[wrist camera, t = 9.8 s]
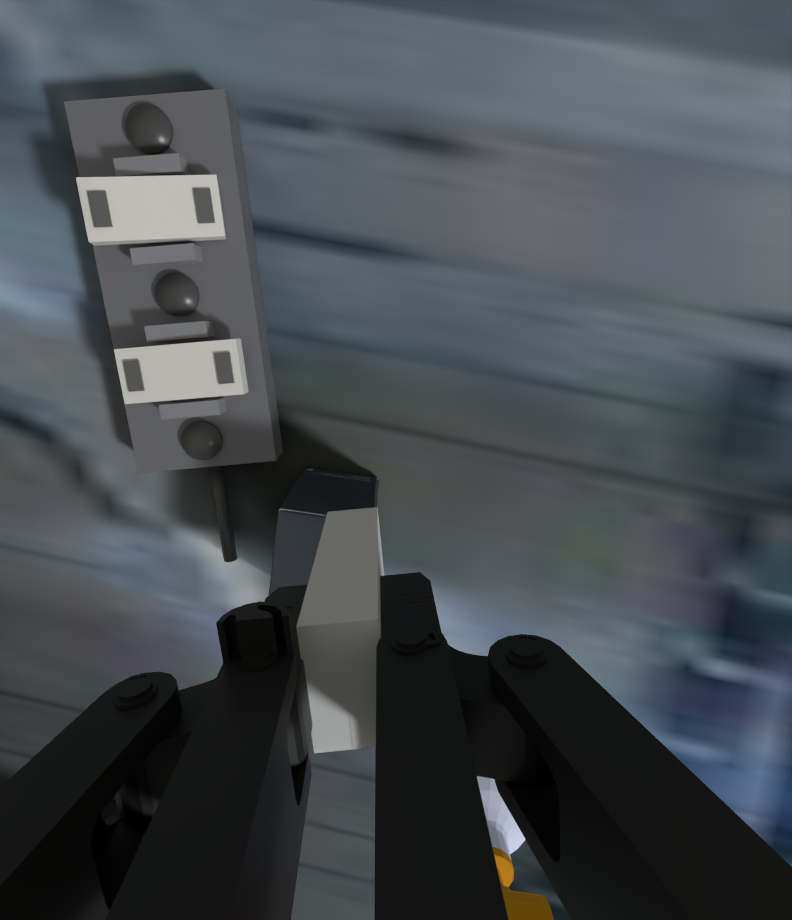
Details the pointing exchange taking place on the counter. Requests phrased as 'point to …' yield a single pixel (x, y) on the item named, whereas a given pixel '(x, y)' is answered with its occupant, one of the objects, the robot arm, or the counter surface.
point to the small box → (313, 519)
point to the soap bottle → (523, 909)
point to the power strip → (185, 281)
